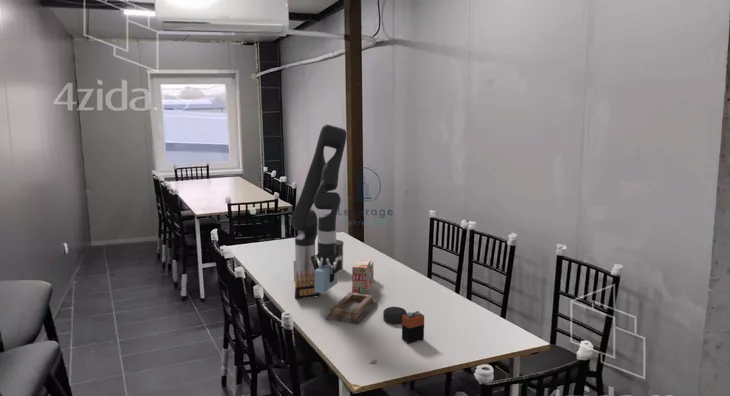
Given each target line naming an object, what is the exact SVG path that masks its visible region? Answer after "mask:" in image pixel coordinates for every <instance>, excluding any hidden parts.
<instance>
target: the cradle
mask: <svg viewBox="0 0 730 396" xmlns="http://www.w3.org/2000/svg"><path fill="white" fill-rule="evenodd" d="M377 305H378V300H374V295H372V294H367V293H366V294H358V293H352V291H351V292H348V293H347V294H346V295H345V296H344V297H342V298H341V299H340V301H338V302H337V303H336V304H334V306H332V307H331V308H330V311H329V313H327V315H326V319H327V320H328V321H335V322H340V323H347V324H352V325H353V324H356V325H359V324H360V323H361V322H362V321H363V320H364V319H365V318H366V317H367V316H368V315H369V313H371V311H372V310H374V308H375V307H376V306H377Z"/></svg>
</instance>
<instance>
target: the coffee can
mask: <svg viewBox="0 0 730 396" xmlns="http://www.w3.org/2000/svg"><path fill="white" fill-rule="evenodd" d="M336 256H337V258H339V259H341V258H342V259H343V261H342V264H341V267H340V270H339V271H338V273H340V272H343V271H344V241H343V240H339V239H336ZM334 262H336V260H335V261H334Z"/></svg>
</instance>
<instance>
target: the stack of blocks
mask: <svg viewBox="0 0 730 396" xmlns="http://www.w3.org/2000/svg"><path fill="white" fill-rule="evenodd" d="M351 272H352V273H351V276H352V277H351V278H352V279H351V280H352V282H351V285H352V286H351V293H358V294H366V295H367V293H368V291H369V289H370V287H371V284H372V283H373V281H374V260H373V259H364V258H357V259H356V260H355V262H354V264H353V265H352V271H351Z"/></svg>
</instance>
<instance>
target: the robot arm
mask: <svg viewBox="0 0 730 396" xmlns="http://www.w3.org/2000/svg"><path fill="white" fill-rule="evenodd" d="M346 141H347V131H346V129H344V128H342V127H338V126H335V125H331V124H324V125H322V127H321V129H320V133H319V135H318V139H317V143H316V146H315V147H316V148H315V150H314V151H315V152H314V153H313V154H314V155H313V158H312V161H311V164H310V165H309V170H308V171H307V175H306V178H305V181H304V185H303V187H302V190H301V194H300V196H299V198H298V201H297V203H296V206H295V208H294V210H293V212H292V214H291V219H290V224H291V226H292V229H294V230H295V231H296V232H297V231H298V232H299V234H297V236H296V237H295V239H294V244H295V245H294V254H295V255H294V257H295V258H294V259H293V280H294V281H295V280H296V272H297V271H298V276H299V279H300V271H302V275H303V279H304V271H305V270H306V275H307V278H308V270H310V274H311V278H312V270H314V273H315V270H316V269H318V268H319V267H322V266H324V265H327V266H328V268H329V269H330V282H331V283H332V282H333V281H334V279H335V273H337V272H338V271H339V270H340V267H341V264H342V261H343V262H344V258H343V259H342V258H341V259H339V258H337V256H336V240H337V230H336V229H337V226H336V225H337V224H336V223H337V216H338V211H339V209H340V205H341V195H340V194H339V193H338V192H335V191H336V190H337V188H338V184H339V173H340V168H341V163H342V160H343V156H344V151H345V146H346ZM325 147H328V148H332V149H334V150H335V152H334V154H333V156H332V157H331V158H330V159H329V160H328V161H327V162H326V159H325V152H324V151H325ZM333 191H334V192H333ZM313 206H314V207H315V208H316V209H317V210H324V211H325V210H330V213H326V214H321V215H319V217H318V215H317V213H316V212H315V210H314V209H312V207H313ZM316 239H317V254H316ZM335 260H336V263H337V265H336V268H334V266H335V265H334V261H335ZM318 261H319V262H318ZM338 273H339V272H338Z"/></svg>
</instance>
